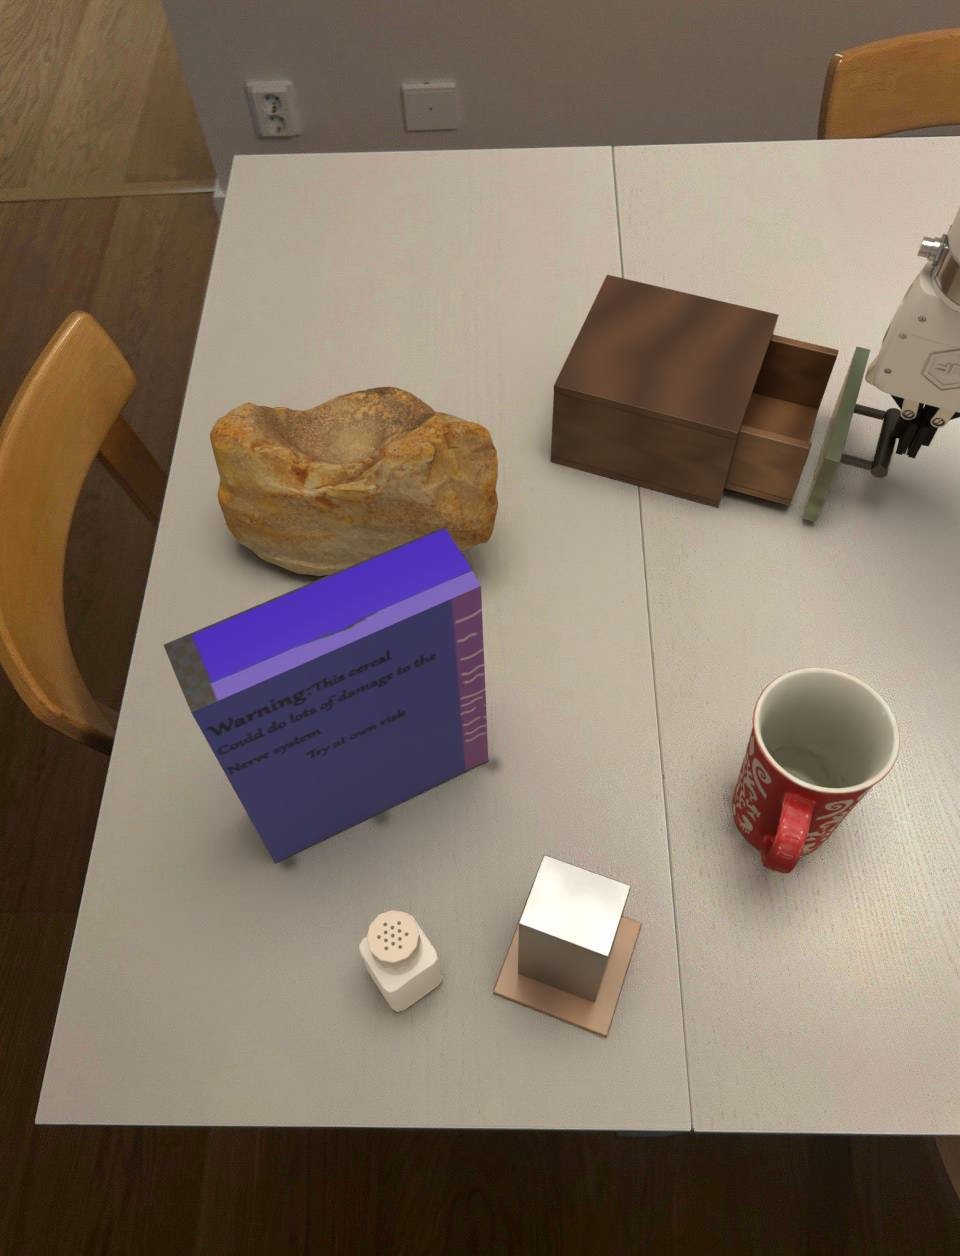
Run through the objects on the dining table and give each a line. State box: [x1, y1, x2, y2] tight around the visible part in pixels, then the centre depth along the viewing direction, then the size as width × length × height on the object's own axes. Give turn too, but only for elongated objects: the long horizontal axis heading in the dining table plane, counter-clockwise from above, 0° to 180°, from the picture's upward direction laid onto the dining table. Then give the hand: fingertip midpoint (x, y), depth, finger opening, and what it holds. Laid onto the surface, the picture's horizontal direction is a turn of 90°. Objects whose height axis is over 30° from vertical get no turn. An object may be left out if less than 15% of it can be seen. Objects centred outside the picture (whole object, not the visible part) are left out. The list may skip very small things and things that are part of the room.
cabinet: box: [550, 274, 780, 509], centre depth 94 cm, size 16×15×10 cm
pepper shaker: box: [358, 909, 443, 1013], centre depth 68 cm, size 4×4×10 cm
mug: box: [731, 666, 901, 875], centre depth 72 cm, size 13×9×14 cm
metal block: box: [518, 854, 632, 1003], centre depth 68 cm, size 6×4×12 cm
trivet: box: [492, 884, 642, 1038], centre depth 73 cm, size 8×8×1 cm
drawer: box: [724, 334, 901, 523], centre depth 92 cm, size 19×13×8 cm
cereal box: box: [163, 527, 489, 865], centre depth 70 cm, size 17×5×24 cm, turn 117°
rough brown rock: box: [209, 386, 499, 577], centre depth 88 cm, size 23×17×15 cm
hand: (907, 444), depth 90 cm, fingers closed
